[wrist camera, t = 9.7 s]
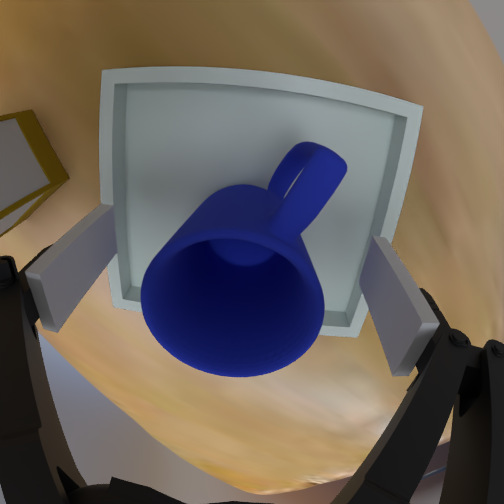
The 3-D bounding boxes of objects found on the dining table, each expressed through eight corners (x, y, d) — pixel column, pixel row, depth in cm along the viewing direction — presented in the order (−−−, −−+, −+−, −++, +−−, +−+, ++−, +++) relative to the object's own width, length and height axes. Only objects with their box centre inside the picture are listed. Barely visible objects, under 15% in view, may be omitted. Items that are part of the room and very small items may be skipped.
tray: (119, 71, 18) (102, 69, 16) (407, 104, 18) (423, 106, 16) (124, 289, 26) (113, 307, 24) (351, 317, 26) (357, 337, 24)
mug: (358, 165, 20) (423, 221, 11) (264, 293, 25) (260, 396, 16) (253, 97, 18) (239, 94, 9) (170, 243, 23) (119, 332, 14)
